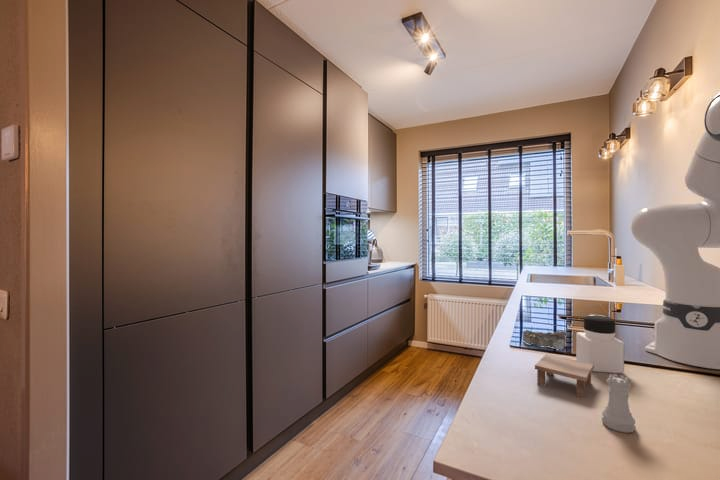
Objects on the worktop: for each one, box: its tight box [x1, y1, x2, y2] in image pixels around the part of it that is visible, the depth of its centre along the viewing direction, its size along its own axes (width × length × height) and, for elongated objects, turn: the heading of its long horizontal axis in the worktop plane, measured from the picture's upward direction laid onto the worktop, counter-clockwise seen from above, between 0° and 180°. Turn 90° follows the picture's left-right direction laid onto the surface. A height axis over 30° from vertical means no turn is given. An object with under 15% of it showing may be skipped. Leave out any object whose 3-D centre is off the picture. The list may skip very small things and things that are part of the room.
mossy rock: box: [522, 329, 567, 350], centre depth 95 cm, size 11×8×4 cm
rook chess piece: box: [601, 373, 637, 434], centre depth 54 cm, size 4×4×8 cm
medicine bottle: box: [575, 314, 625, 375], centre depth 79 cm, size 7×7×12 cm
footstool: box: [534, 353, 594, 398], centre depth 70 cm, size 9×9×4 cm
